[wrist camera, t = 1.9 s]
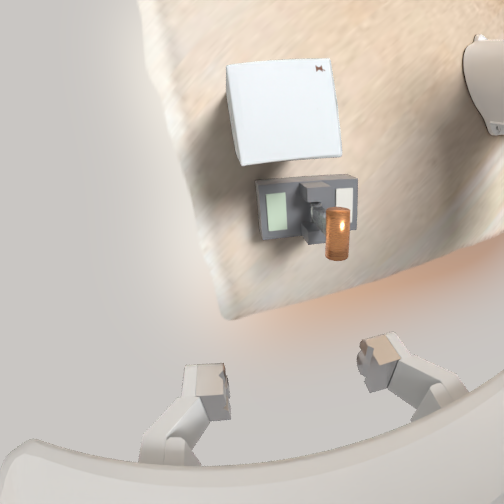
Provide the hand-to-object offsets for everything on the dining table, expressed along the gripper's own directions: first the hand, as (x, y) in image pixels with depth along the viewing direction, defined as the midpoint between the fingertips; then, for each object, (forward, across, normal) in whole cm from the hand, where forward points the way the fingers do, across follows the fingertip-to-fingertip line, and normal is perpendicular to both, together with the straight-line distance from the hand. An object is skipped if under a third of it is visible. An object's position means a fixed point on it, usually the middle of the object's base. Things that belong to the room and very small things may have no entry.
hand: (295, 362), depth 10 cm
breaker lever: (+19, -6, 0) cm, 20 cm away
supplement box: (+23, -2, -10) cm, 26 cm away
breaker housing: (+23, -6, 0) cm, 24 cm away
